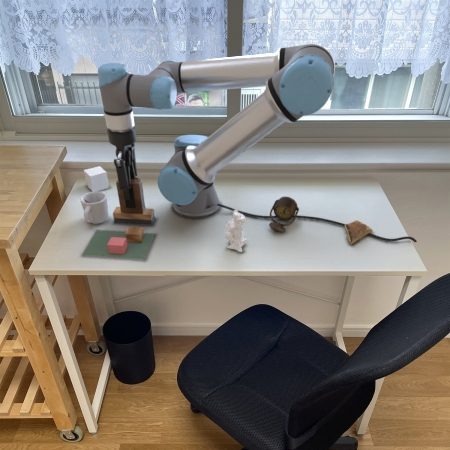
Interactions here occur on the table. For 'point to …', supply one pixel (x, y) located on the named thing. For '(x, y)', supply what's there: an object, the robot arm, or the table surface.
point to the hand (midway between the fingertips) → (132, 204)
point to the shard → (357, 231)
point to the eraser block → (117, 245)
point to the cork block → (135, 234)
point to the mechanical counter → (283, 213)
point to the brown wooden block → (133, 214)
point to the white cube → (96, 178)
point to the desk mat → (102, 237)
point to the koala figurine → (235, 231)
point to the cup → (95, 207)
